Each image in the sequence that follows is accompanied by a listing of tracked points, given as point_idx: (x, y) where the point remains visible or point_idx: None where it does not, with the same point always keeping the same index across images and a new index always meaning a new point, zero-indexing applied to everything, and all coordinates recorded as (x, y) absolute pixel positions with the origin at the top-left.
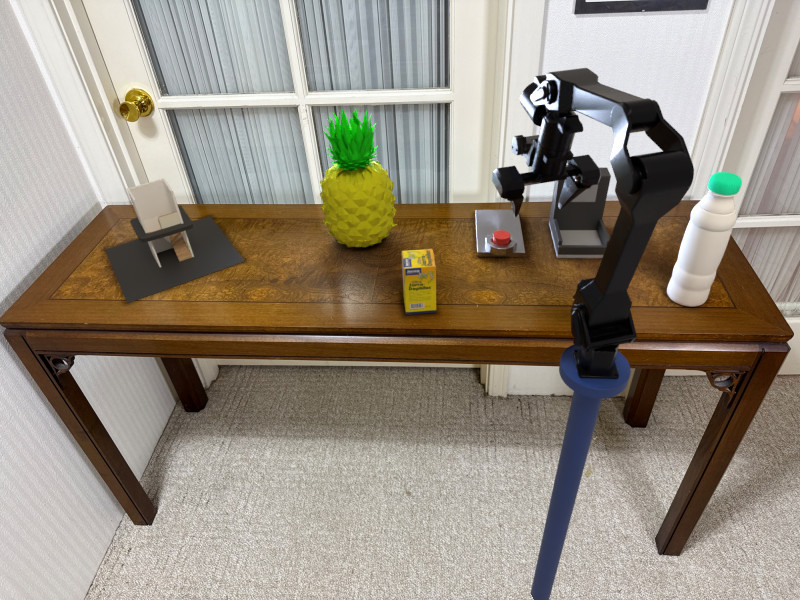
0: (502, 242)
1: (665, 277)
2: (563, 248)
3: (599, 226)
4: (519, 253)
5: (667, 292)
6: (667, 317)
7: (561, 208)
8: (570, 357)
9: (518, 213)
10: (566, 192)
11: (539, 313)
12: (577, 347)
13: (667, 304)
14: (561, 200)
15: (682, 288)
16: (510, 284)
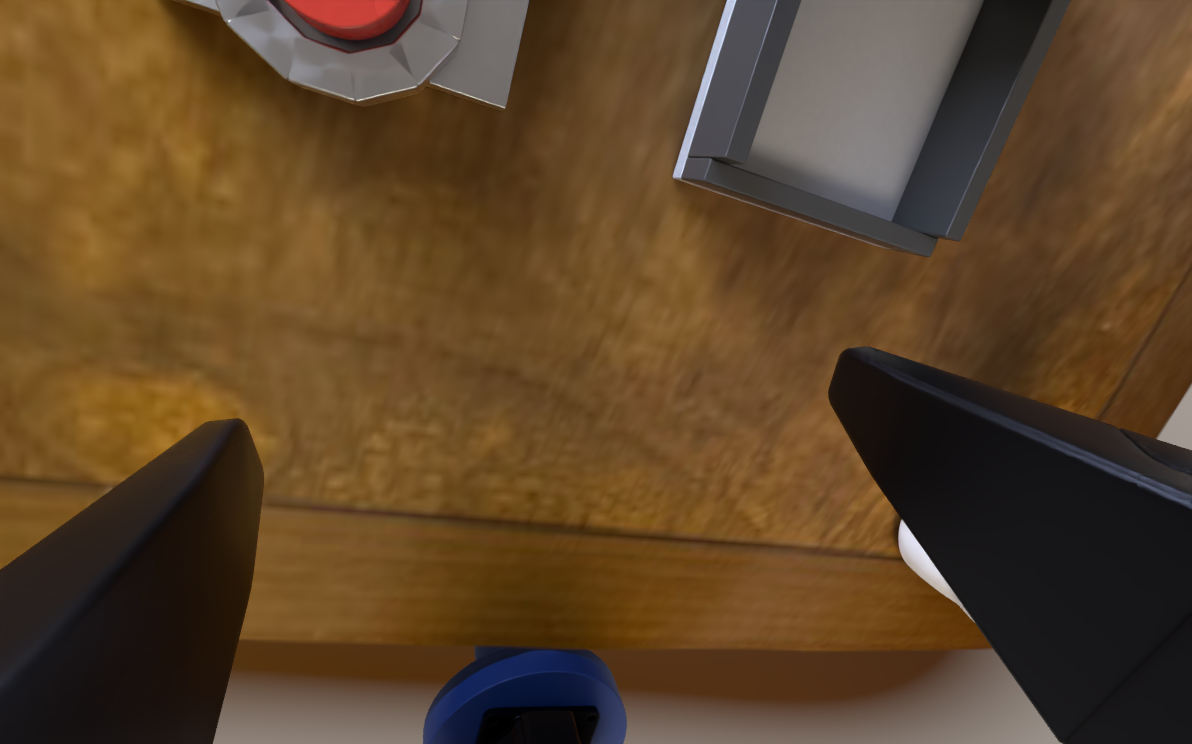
0: (331, 29)
1: None
2: (723, 189)
3: (1014, 32)
4: (468, 97)
5: None
6: (832, 597)
7: (843, 421)
8: (466, 731)
9: (246, 580)
10: (1057, 588)
11: (426, 563)
12: (507, 694)
13: (873, 543)
14: (915, 438)
15: (950, 594)
16: (341, 353)
